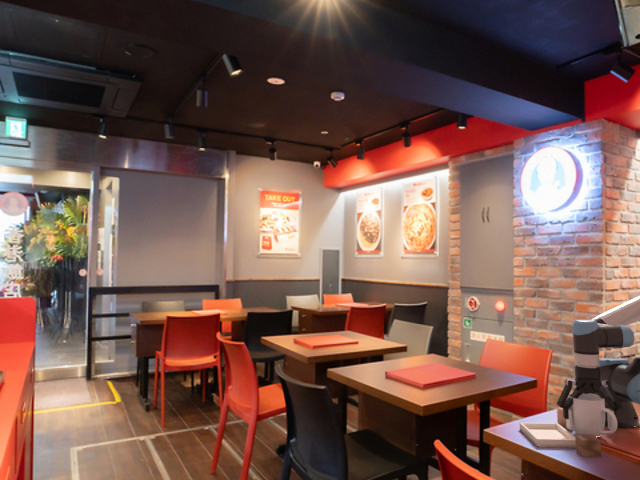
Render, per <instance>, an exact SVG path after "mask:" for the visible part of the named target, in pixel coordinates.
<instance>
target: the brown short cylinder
mask: <svg viewBox="0 0 640 480" xmlns="http://www.w3.org/2000/svg"><path fill="white" fill-rule="evenodd" d="M556 417H557V423H558V424H559V425H561V426H562V427H563V428H564V429H568V428H567V427H566V419H565V418H564V417H563V408H561V407H559V406H557V407H556ZM572 429H573V427H572Z"/></svg>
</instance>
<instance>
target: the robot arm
mask: <svg viewBox="0 0 640 480" xmlns="http://www.w3.org/2000/svg"><path fill="white" fill-rule="evenodd" d="M637 321H640V295H638V296H636V297H634V298H632V299H629V300H628V301H626V302H624V303H622V304H620V305H618V306H615V307H614V308H611V309H610V310H607V311H605V312H603V313H601V314H599V315H597V316H594V317H592V318H591V319H576V320H574V321H573V322H572V328H571V331H572V339H573V340H572V341H573V361H574V364H575V365H574V376H575V377H574V380H573V379H570V378H565V385H564V387H563V389H562V391H561V393H560V395H559V397H558V400H557V402H556V405H557V407H561V408H563V417H564V418H565V419H566V427H567V428H566V429H568V430H569V431H572V430H573V428H572V412H571V410H570V409H569V408H570V407H571V406H572V405H573V398H576V399H578V397H579V396H580V395H582V394H583V393H584V394H589V393H590V394H595V395H598V396H599V397H600V398H602V399H604V401H605V408H607V409H609V410H610V411H612V412H613V413H614V415H615V417H616V419H617V428H619V427H634V426H638V425H639V426H640V418H639V416H638V412H637V411H636V408H635V406H634V404H635V403H636V404H638V405H640V356H636V357H634V359H632V362H630V360H629V359H627V358H615V357H613V358H611V357H610V358H609V357H607V358H604V357H603V358H601V357H600V349H605V348H607V349H608V348H609V349H610V348H611V349H613V348H615V349H617V348H620V349H624V348H629V347H632V346H633V344H634V343H635V333H634V331H633V330H632V328H631V327H629V325H631V324H633V323H636V322H637ZM574 386H576V387H575V388H574V389H573V387H574ZM572 389H573V391H572ZM571 391H572V392H571ZM569 393H572V394H571V395H570V397H572V398H568V396H569ZM633 402H634V404H633ZM604 426H607V429H609V431H610V430H612V428H613V420H612V417H611V416H610V414H609V413H607V412H605V425H604ZM639 426H638V427H639Z"/></svg>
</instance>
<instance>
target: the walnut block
mask: <svg viewBox="0 0 640 480" xmlns="http://www.w3.org/2000/svg"><path fill="white" fill-rule="evenodd" d="M574 436H575V440H576V448H575V450H576V452H578V454H580V455H581V456H582V457H584V458H602V448H601V440H600V439H599V438H596V437H595V436H593V435H587V434H576V433H575V434H574Z"/></svg>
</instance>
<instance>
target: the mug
mask: <svg viewBox="0 0 640 480" xmlns="http://www.w3.org/2000/svg"><path fill="white" fill-rule="evenodd" d="M572 393H573V392H570V393H569V396H568V398H572V397H570V395H571V394H572ZM568 398H567V399H568ZM569 409H570V410H571V412H572V427H573V428H572V430H573V431H574V432H575V434H587V435H593V436H595V437H596V436H600V437H601V436H602V435H612V434H614V433H615V432H616V431H617V428H618V427H617V419H616V417H615V415H614V413H613V412H612V411H610V410H609V409H607V408H605V401H604V399H602V398H600V397H599V396H598V395H595V394H590V393H589V394H584V393H583V394H582V395H580V396H579V397H578V399H576V398H573V405H572V406H571V407H570V408H569ZM605 412H607V413H609V414H610V416H611V417H612V420H613V428H612V430H610V429H609V430H607V431H606V430H604V429H605V426H606V425H605Z"/></svg>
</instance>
